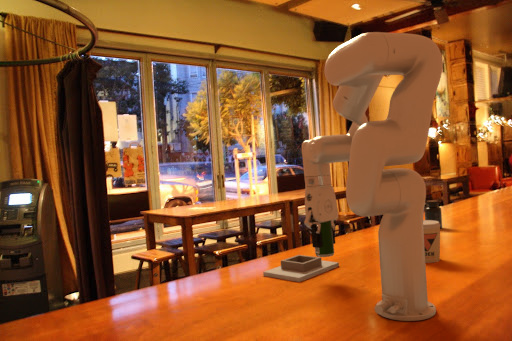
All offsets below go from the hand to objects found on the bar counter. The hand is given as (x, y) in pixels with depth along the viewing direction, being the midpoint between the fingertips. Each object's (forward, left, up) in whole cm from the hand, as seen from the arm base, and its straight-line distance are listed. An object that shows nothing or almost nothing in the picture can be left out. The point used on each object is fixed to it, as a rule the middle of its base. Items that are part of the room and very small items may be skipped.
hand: (324, 244), depth 129 cm
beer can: (0, 0, -3) cm, 3 cm away
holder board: (+4, +12, -10) cm, 16 cm away
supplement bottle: (+87, +5, -10) cm, 88 cm away
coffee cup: (+33, -15, -10) cm, 38 cm away
